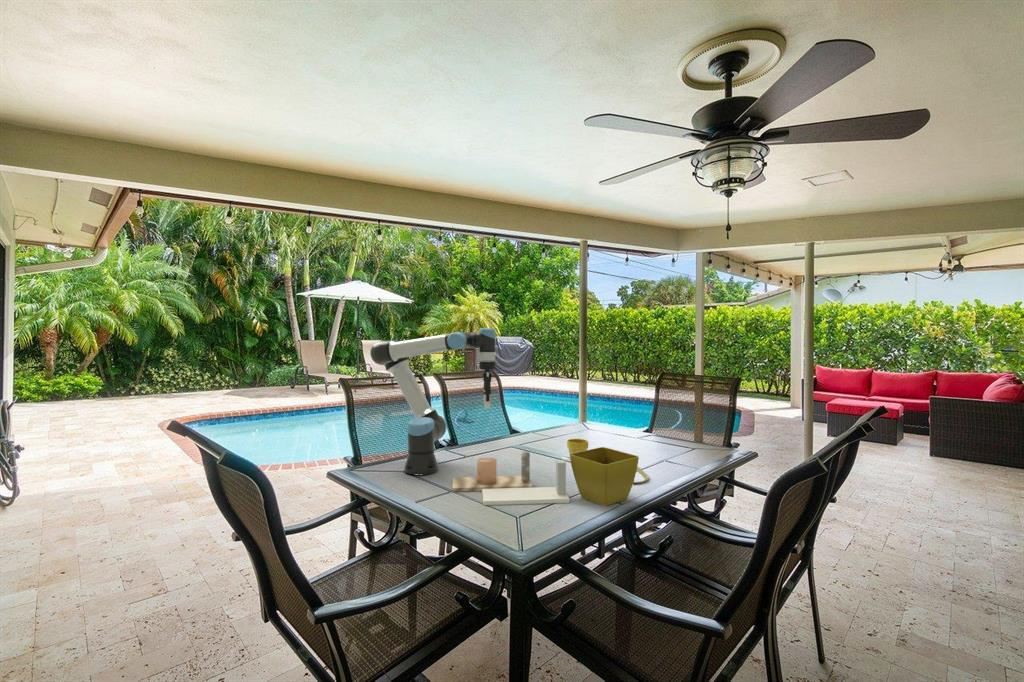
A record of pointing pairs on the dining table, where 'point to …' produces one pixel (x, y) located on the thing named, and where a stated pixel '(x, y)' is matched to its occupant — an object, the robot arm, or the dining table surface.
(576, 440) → the plant pot
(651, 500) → the dining table surface
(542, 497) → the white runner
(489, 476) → the tan rounded cylinder
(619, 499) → the flower pot
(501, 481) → the oak runner
